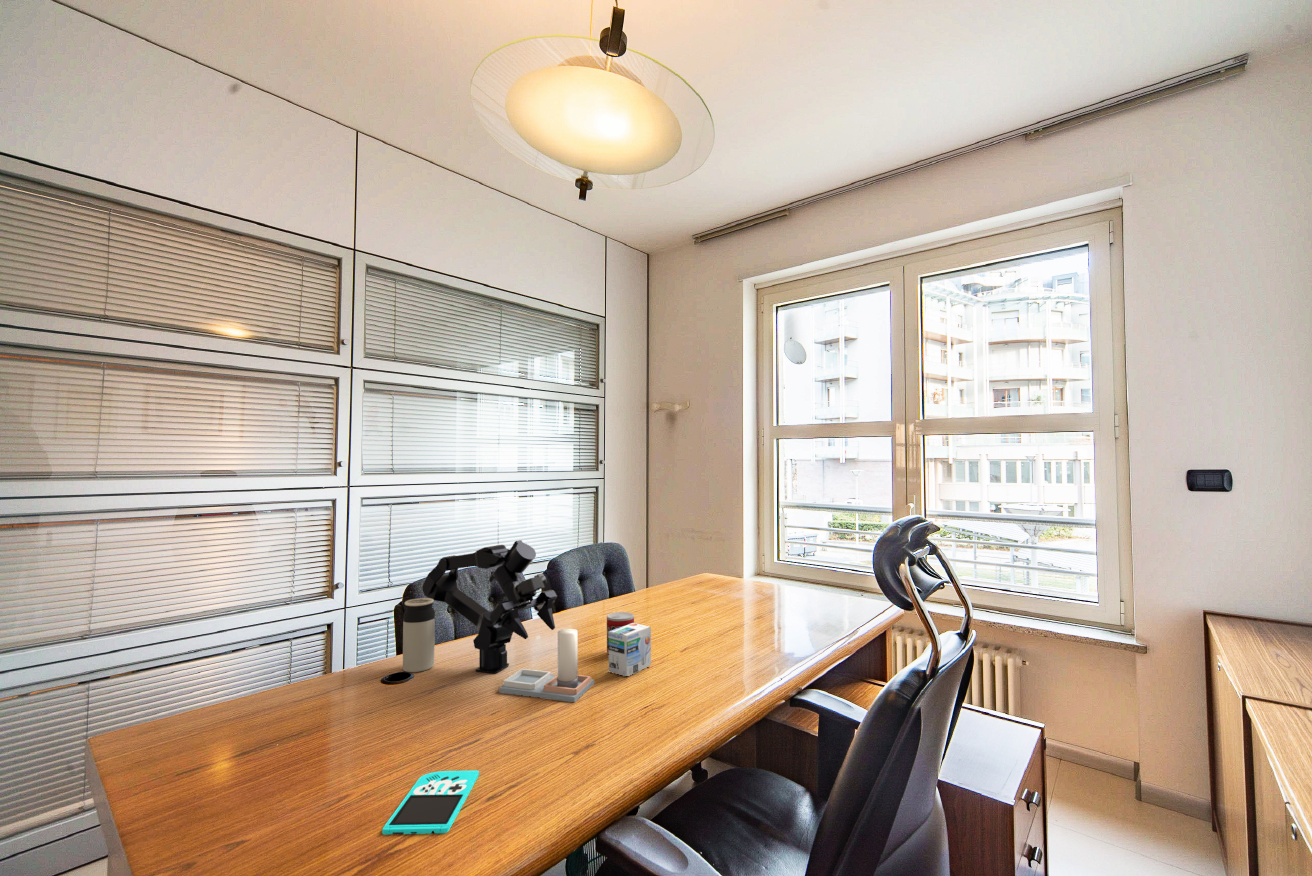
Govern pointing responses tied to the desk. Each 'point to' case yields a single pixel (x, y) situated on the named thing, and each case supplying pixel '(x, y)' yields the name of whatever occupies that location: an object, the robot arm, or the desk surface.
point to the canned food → (617, 622)
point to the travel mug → (418, 635)
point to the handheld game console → (432, 803)
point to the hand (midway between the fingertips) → (540, 633)
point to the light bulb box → (629, 649)
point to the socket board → (543, 685)
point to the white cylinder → (567, 658)
